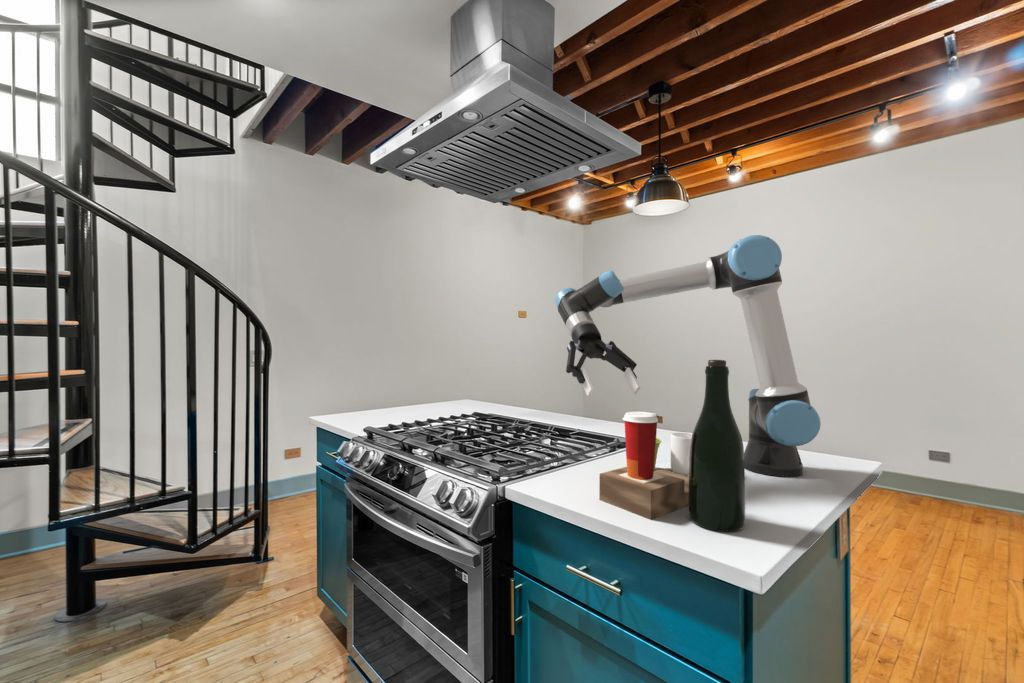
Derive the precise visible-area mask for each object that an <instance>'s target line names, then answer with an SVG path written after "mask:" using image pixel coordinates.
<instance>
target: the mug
mask: <svg viewBox="0 0 1024 683" xmlns="http://www.w3.org/2000/svg"><path fill="white" fill-rule="evenodd" d="M692 433H693V432H686V431H684V432H683V431H679V432H676V431H675V432H671V434H670V469H671V472H675V473H678V474H682V475H687V476H689V457H690V443H691V438H692Z"/></svg>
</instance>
